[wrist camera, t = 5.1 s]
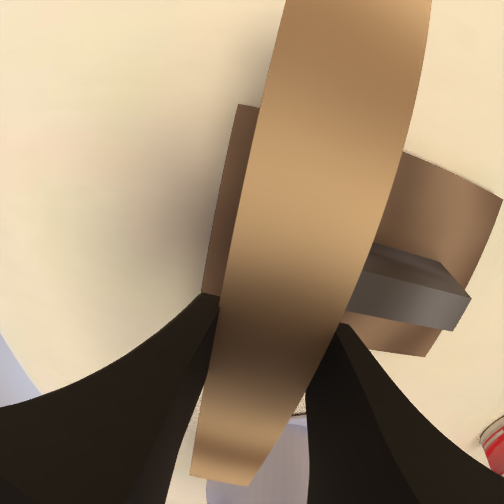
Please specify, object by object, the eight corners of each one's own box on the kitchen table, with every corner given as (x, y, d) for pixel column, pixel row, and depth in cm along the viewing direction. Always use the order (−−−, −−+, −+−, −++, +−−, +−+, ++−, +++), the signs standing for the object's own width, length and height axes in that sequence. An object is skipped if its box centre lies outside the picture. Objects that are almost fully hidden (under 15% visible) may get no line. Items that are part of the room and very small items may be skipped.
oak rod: (252, 442, 15) (247, 486, 12) (200, 431, 15) (189, 475, 12) (392, 20, 6) (432, -12, 4) (296, -9, 6) (300, -57, 4)
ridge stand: (201, 303, 19) (179, 357, 15) (240, 104, 14) (222, 98, 10) (420, 348, 19) (442, 397, 15) (494, 195, 14) (543, 222, 10)
